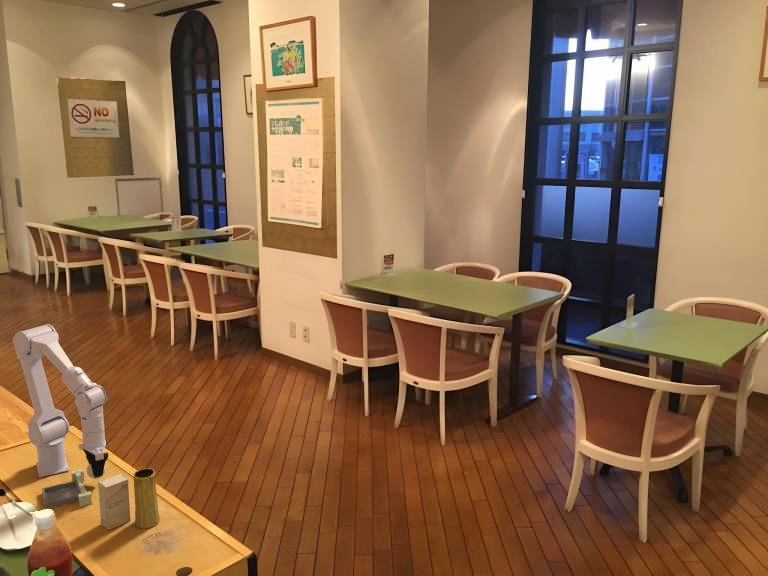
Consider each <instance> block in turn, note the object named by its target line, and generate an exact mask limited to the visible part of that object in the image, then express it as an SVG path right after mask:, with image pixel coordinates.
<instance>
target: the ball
mask: <svg viewBox="0 0 768 576" xmlns="http://www.w3.org/2000/svg"><path fill="white" fill-rule="evenodd" d="M106 470H107V469H106V465H105V466H104V471H103V476H104V475H105V474H106ZM86 473H87V476H88V477H89V478H91V479H100V478H102V477H103V476H101V477H97V478H95V477H94V475H93V472H92V468H91V465H90V464H89V463H88V466H87V467H86Z"/></svg>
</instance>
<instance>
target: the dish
mask: <svg viewBox="0 0 768 576" xmlns="http://www.w3.org/2000/svg"><path fill="white" fill-rule="evenodd" d="M41 493H42V499H43V503H44V508H49V509H53V508H56V507H60V506H64V505H67V504H73V503H76V502H77V503H78V502H79V497H78V494H81V492H80V489H79V486H78V483H77V480H75V481H72V480H71V481H68V482H63V483H59V484H55V485H50V486H47V487H42V488H41Z"/></svg>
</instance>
